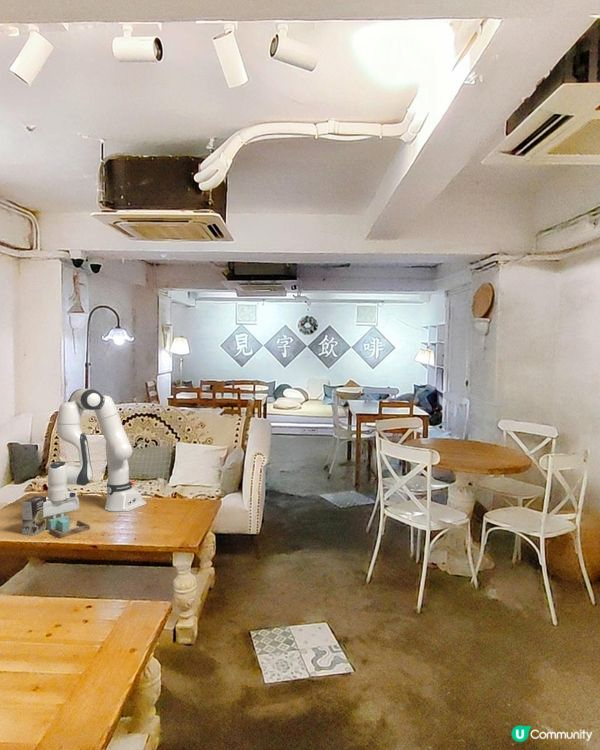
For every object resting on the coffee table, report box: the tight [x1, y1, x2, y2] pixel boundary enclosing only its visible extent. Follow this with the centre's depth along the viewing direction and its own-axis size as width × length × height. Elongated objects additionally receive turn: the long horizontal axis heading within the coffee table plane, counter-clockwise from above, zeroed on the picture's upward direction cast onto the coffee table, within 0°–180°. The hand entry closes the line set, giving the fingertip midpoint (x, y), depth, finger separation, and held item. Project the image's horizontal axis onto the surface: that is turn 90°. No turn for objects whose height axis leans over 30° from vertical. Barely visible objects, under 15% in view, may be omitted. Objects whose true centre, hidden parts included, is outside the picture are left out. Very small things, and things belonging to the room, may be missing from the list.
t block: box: [47, 514, 71, 532], centre depth 246 cm, size 9×9×4 cm
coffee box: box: [21, 495, 47, 536], centre depth 241 cm, size 9×6×16 cm
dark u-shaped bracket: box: [48, 520, 91, 539], centre depth 243 cm, size 15×10×2 cm, turn 143°
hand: (57, 522), depth 250 cm, fingers closed, pressing on t block
